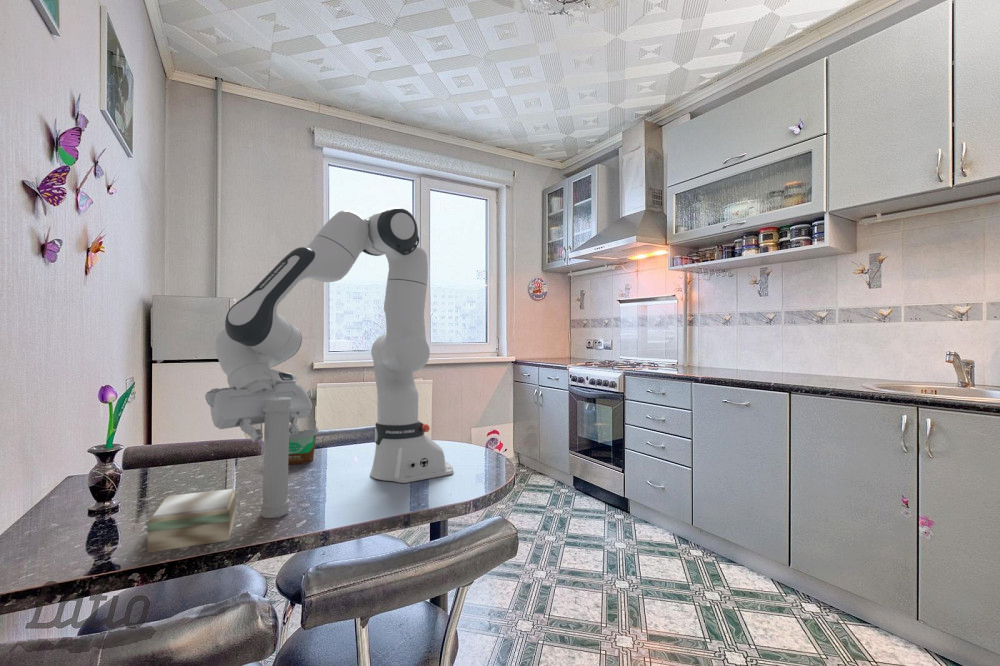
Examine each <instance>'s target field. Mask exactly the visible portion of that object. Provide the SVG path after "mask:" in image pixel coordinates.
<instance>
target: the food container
mask: <svg viewBox="0 0 1000 666" xmlns="http://www.w3.org/2000/svg"><path fill="white" fill-rule="evenodd" d="M319 434H320V432H319V428H318V426H316V427H315V428H314V427H313V428H311V429H300V428H299V431H298V432H297V434H294V435H289V454H288V466H299V465H300V466H301V465H305V464H308V463H312V462H313V461H314V456H315V448H316V440H317V436H318V435H319Z"/></svg>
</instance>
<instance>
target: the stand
mask: <svg viewBox="0 0 1000 666" xmlns="http://www.w3.org/2000/svg"><path fill="white" fill-rule="evenodd" d="M236 511H237V490H236V489H235V490H234V488H227V489H219V490H210V491H202V492H191V493H182V494H173V495H167V496H166V497H165V498H164V499H163V501H162V502H161V503H160V505H159V506H158V507H157V508H156V510H155V511H154V512H153V514H152V515H151V516H150V517H149V519H148V520H147V521H148V523H147V553H153V552H161V551H167V550H173V549H180V548H188V547H194V546H201V545H208V544H213V543H219V542H227V541H228V542H229V541H230V537H231V534H232V530H233V527H234V523H235V521H236V518H237V514H236V513H237V512H236Z"/></svg>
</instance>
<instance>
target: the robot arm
mask: <svg viewBox="0 0 1000 666" xmlns="http://www.w3.org/2000/svg"><path fill="white" fill-rule="evenodd" d="M419 243H420V237H419V229H418V224H417V221H416V218H415V217H414V216H413V214H412V213H411V212H410V211H409V210H407V209H404V208H402V207H388V208H386V209H384V210H381V211H378V212H376V213H373V214H372V215H371V216H369V217H367V218H363V217H362V216H361V215H360V214H358V213H357V212H354V211H353V210H346V209H344V210H340V211H338V212H336V213H335V214H334V215H333V216H331V218H330V219H328V221H327V222H325V224H324V225H323V226H322V227H321V229H320V230H319V231H318V233H317V234H316V235H315V236H314V238H313V239H312V240H311V241H310V243H309V244H307V245H306V246H305V247H304V246H300V247H297V248H294V249H292V251H290V252H288V254H287V255H285V256H284V257H283V258H281V260H280V261H279V262H278V263H277V264H276V265H275V266H274V268H273V269H272V270H271V271H270V272H268V273H267V275H266V276H264V278H263V279H261V281H260V282H259V283H258V284H257V285H256V286H255V287H254V288H253V289H252V290H251V291H249V293H248V294H246V295H245V296H244V297H241V299H240V300H238V301H236V302H235V304H233V305H232V306H231V307H229V308H230V309H229V310H228V311H227V314H226V315H225V321H224V322H225V323H224V326H225V328H224V329H223V330H221V331H220V332H219V333H218V335H217V337H216V340H215V342H214V343H215V345H214V346H215V347H214V348H215V352H216V356H217V360H218V362H219V365H220V367H221V368H220V369H221V370H222V372H223V373H224V374H225V375H226V376H227V377H226V378H227V379H226V381H227V384H228V386H229V387H222V388H212V389H210V390H209V391H207V392H206V393H205V394H204V395H205V396H204V397H205V401H206V403H207V405H209V407H210V409H209V410H210V415H211V419H212V423H213V425H214V427H215V428H218V429H219V430H225V429H232V428H240V430H241V431H242V432H244V433H245V434H247V435H248V436H250V439H251V441H252V442H257V441H261V440H262V438H264V433H262V430H261V428H258V429H257V428H255V427H254V426H253V425H260V424H265V412H263V404H264V399H266V398H271V397H277V393H276V388H277V392H278V397H289V398H291V407H292V410H290V411H289V435H294V434H297V432H298V431H299V429H300V428H299V426H298V425H297V424H298V419H304V418H307V417H308V415H309V414H310V413H311V411H312V409H313V403H312V400H311V398H310V397H309V395H308V393H307V391H306V390H305V388H304V387H303V386H302V385H300V384H298V383H297V382H298V377H297V375H295V374H294V373H288V372H283V371H279V370H276V369H273V367H276V366H278V365H280V364H282V363H283V362H286V361H287V360H289V359H291V358H292V357H294V356H295V355H296V354H297V353H298V351H299V350H300V348H301V346H302V343H303V342H302V340H303V338H302V337H303V336H302V332H301V331H300V329H299V328H298V327H297V326H295V325H294V324H293V323H291V321H289V320H288V319H287V318H285V317H284V316H282V315H281V314H280V313H278V312H277V311H278V306H279V305H280V303H281V302H282V301H283V300H284V299H285V298H286V297H287V296H288V295H289V293H290V292H291V291H292V290H293V289H294V288H295V287H296V286H297V285H298V284H299V283H300V282H301V281H303V280H305V279H313V280H315V281H318V282H323V283H334V282H338V281H340V280H342V279H344V277H345V276H346V275H347V274H348V273H349V271H351V269H352V267H353V266H354V264H355V263H356V261H357V260H358V258H359V256H360V254H361V253H362V252H363V253H365V254H367V255H370V256H373V257H379V256H383V255H385V257H386V260H387V263H388V273H387V279H386V280H387V281H386V285H385V296H384V303H383V311H384V313H385V314H384V315H385V326H386V333H384V334H382V335H381V336H379V337H378V338H376V340H375V341H374V342H373V343H372V344H371V345H372V346H371V351H370V353H371V357H372V361H373V371H374V378H375V383H376V394H377V396H376V397H377V401H376V403H377V409H376V411H377V414H376V415H377V416H376V418H377V419H376V422H375V428H374V441H375V448H374V449H375V450H374V456H373V461H372V465H371V470H370V473H369V476H370V477H371V478H373V479H376V480H380V481H388V482H395V483H401V484H407V483H410V482H411V483H413V482H416V481H422V480H427V479H429V480H430V479H433V478H438V477H439V478H440V477H445V476H449V475H452V474H453V473H454V468H453V466H452V464H450V463H449V462H447V461H446V459H445V457H446V456H445V452H444V450H443V448H442V447H441V446H440V445H438V444H437V443H436V441H434V440H433V439H431V438H429V437H428V436H427V435H425V433H428V432H429V431H430V430H431V427H430V426H431V425H430V426H429V424H428V423H423V422H421V421H420V420H419V392H418V389H417V386H416V382H415V378H414V372H417V371H419V370H421V369H423V368H424V367H425V366H426V365H427V363H428V362H429V359H430V354H431V351H430V346H429V344H428V342H427V336H426V327H425V323H426V322H425V308H426V307H425V306H426V298H427V296H426V295H427V287H428V277H429V276H428V275H429V266H428V265H429V263H428V255H427V253H426V251H425V250H424V249H423V248H422V247H421V246H419ZM264 371H265V372H267V373H268V374H269V375H270V376H271V377H272V379H273V380H274V382H275V385H276V388H275V385H274V383H273V381H272V379H271V378H270V377H269V376H268V375H267V374H266V373H265V372H264Z"/></svg>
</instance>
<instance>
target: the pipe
mask: <svg viewBox="0 0 1000 666" xmlns="http://www.w3.org/2000/svg"><path fill="white" fill-rule="evenodd" d="M264 372H265V371H264ZM265 373H266V374H267V375H268V376H269V377H270V378H271V379H272V377H271V376H270V375H269V374H268V373H267V372H265ZM272 381H273V383H274V385H275V382H274V380H273V379H272ZM275 388H276V385H275ZM276 393H277V397H271V398H266V399H264V404H263V412H265V423H264V430H263V431H264V433H263V438H264V439H263V440H264V441H263V473H262V474H263V476H262V477H263V479H262V481H263V482H262V501H261V502H260V505H259V506H260V515H261V517H262V518H265V519H275V518H281V517H284V516H286V515H287V514H288V513H289V509H290V506H289V505H290V502H291V501H290V498H288V495H289V493H288V492H289V487H288V486H289V465H288V454H289V425H290V423H289V411H290V410H292V407H291V398H289V397H278V392H277V388H276Z"/></svg>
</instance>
